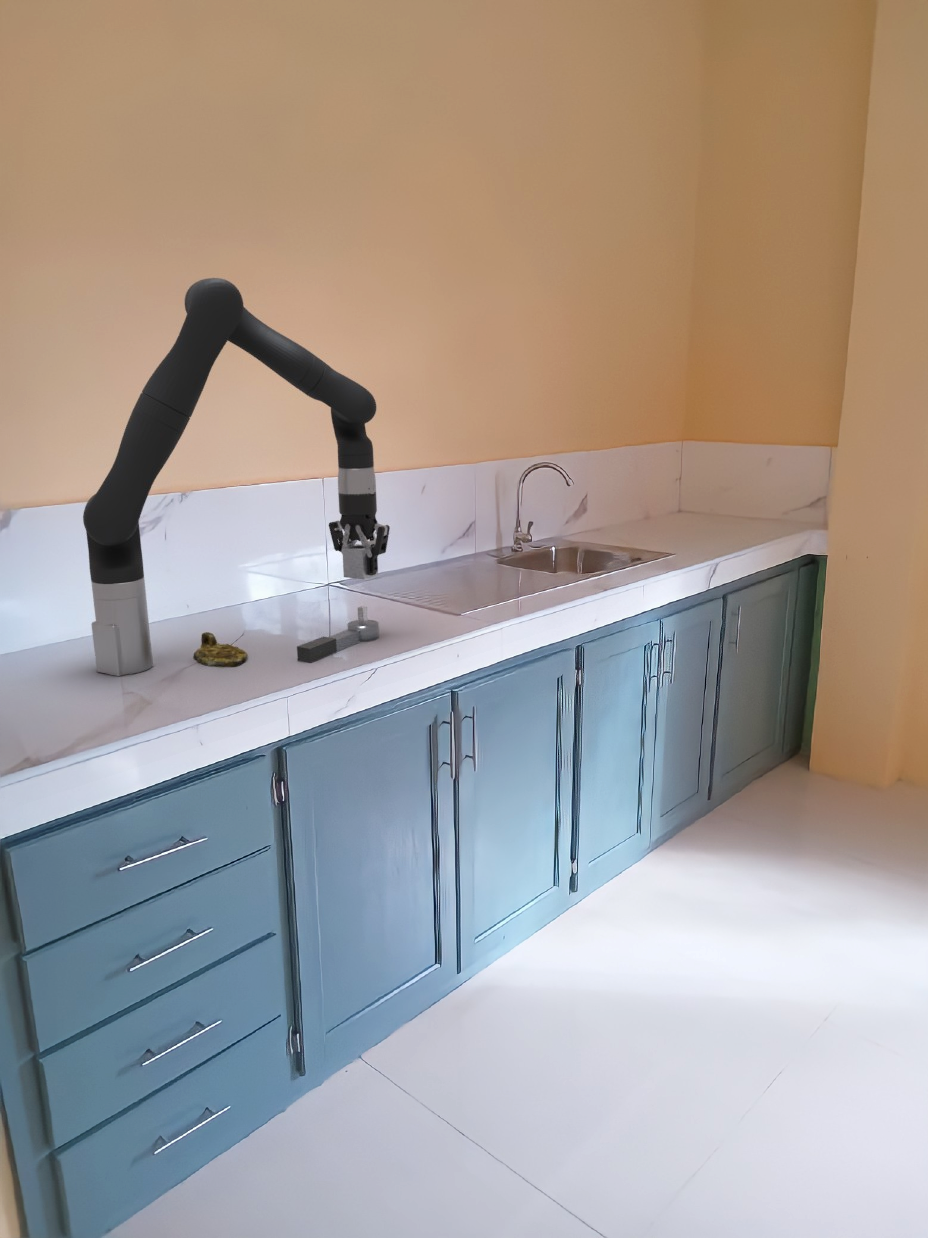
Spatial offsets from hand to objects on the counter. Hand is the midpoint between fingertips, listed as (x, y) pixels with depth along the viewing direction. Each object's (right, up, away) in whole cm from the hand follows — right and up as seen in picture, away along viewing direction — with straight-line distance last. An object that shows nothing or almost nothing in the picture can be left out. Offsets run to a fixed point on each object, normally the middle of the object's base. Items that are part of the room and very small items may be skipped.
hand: (360, 573), depth 192 cm
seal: (-26, -17, -9) cm, 33 cm away
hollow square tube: (0, -1, 0) cm, 1 cm away
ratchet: (-4, -15, -3) cm, 16 cm away
